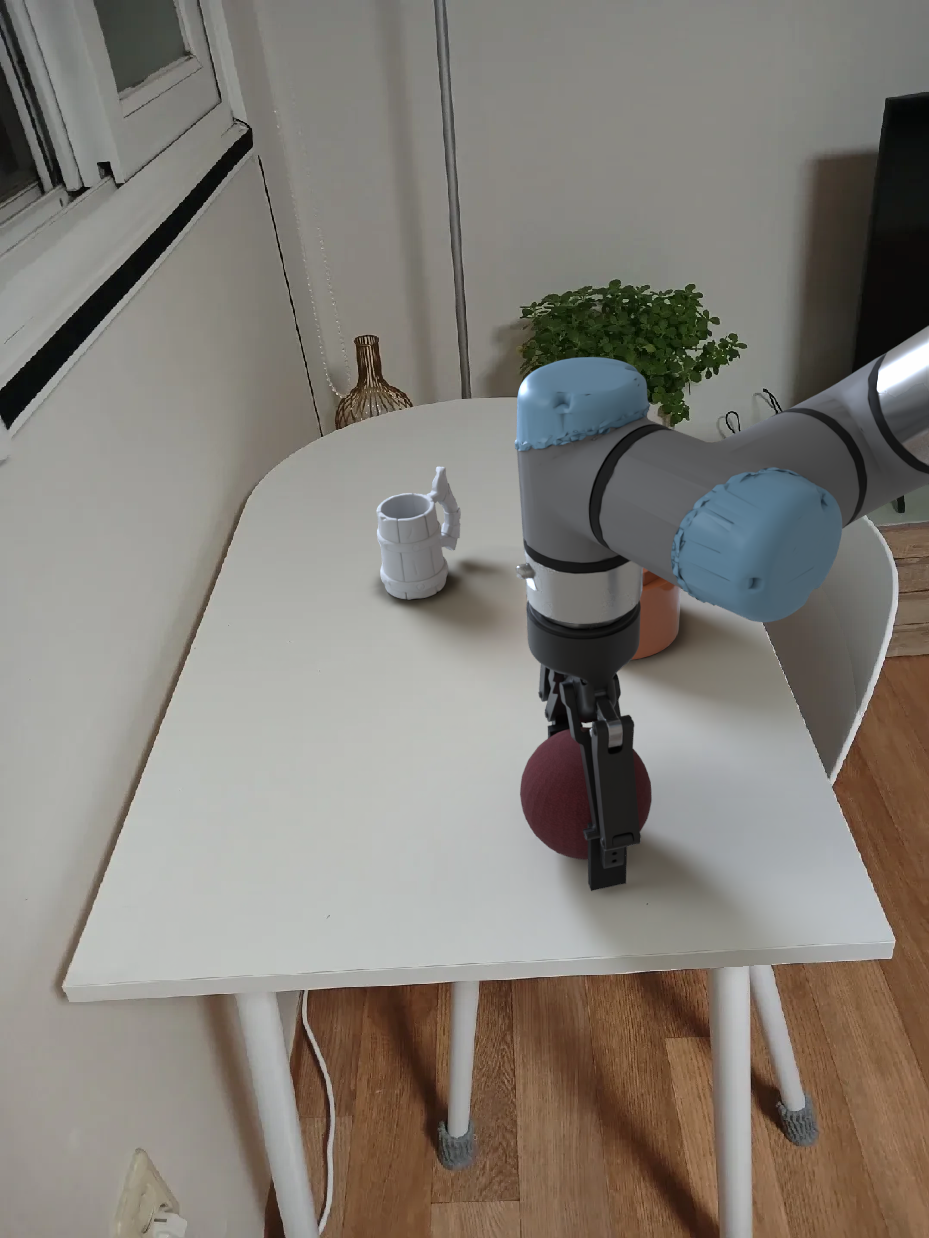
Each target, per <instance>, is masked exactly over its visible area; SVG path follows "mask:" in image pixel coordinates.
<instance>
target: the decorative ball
mask: <svg viewBox="0 0 929 1238" xmlns="http://www.w3.org/2000/svg"><path fill="white" fill-rule="evenodd" d="M584 728H589V727H588V726H586V727H585V726H583V727H581V729H584ZM633 757H634V769H635V780H636V792H637V804H638V816H639V828H640V832H642V830H643V828H644V826H645V824H646V822H647V820H648V818H649V814H650V811H651V805H652V801H653V799H652V786H651V785H652V781H651V779H650V775H649V773H648V772H649V771H648V770H647V767H646V765H645V763H644V760H642V758H641V756H640V755H639V754H638V752H637V751H636V750H635V749H634V748H633ZM519 796H520V804H521V808H522V813H523V816H524V818H525V820H526V822H527V824H528V826H529V828H530V829H531V831H532V832H533V834H534V835H535V837H537V839H539V840H540V841H541V842H542V843H543V844H544V845H545V846H546V847H547V848H549V849H550V850H552V851H554V852H555V853H557V854H559V855H561V856H564V857H567V858H570V859H571V858H572V859H576V860H585V861H586V860H587V861H588V840H586V839H585V837H584V833H583V829H586V828H588V825H587V823H590V822H592V818H591V812H590V806H589V800H588V793H587V787H586V781H585V775H584V769H583V762H582V756H581V750H580V744H579V743H577V742H576V741H575V740H574V739H573V738H572V737H571V733H570V729H567V730H564V731H561V732H559V733H556V734H555V735H553V736H551V737H550V738H548V737H547V738H546V739H545V740H544V741H543V742H542V743H540V744H539V745H538V746H537V747H536V749H535V750H534V752H533V753H532V754H531V755H530V756H529V758H528V760H527V762H526V765H525V767H524V769H523V772H522V775H521V780H520V790H519Z"/></svg>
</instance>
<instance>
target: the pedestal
mask: <svg viewBox="0 0 929 1238" xmlns="http://www.w3.org/2000/svg"><path fill="white" fill-rule="evenodd" d="M681 594H682V589H681V588H679V587H677V586H676V585H674V584H672V583H670V582H668V581H667V580H665V579H663V578H661V577H659V576H657V575H656V574H654V573H652V572H650V571H648V570H647V569H645V568H643V582H642V593H641V597H640V604H641V614H640V643H639V647H638V650H637V652H636V654H635V655H634V657H633V658H632V659H631V660H630V661H632V660H639V659H644V658H648V657H650V656H653V655H656V654H658V653H660V652H662V651H664V650H665V649H666V648H668V647H669V646H670V645H671V644H672V643H673V642H674V641H675V640H676V638H677V636H678V634H679V629H680V613H681V598H682V597H681V596H682V595H681Z"/></svg>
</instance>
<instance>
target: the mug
mask: <svg viewBox="0 0 929 1238" xmlns="http://www.w3.org/2000/svg"><path fill="white" fill-rule="evenodd" d="M435 473H436V475H435V476H434V478H433V479H432V483H431V490H430V492H429V493H426V494H424V493H414V492H406V493H399V494H395V495H391V496H390V497H387V498H385V499H384V500H383V501H382V502H380V503H379V505H378V506H377V508H376V517H377V525H378V528H377V530H376V538H377V542H378V544H379V545H380V553H381V563H382V564H381V565H380V571H379V572H380V579H381V581H382V583H383V585H384V587H385V590H386V592H387V593H388V594H389V595H391V596H392V597H394V598H398V599H401V600H415V599H424V598H425V599H426V598H429V597H431V596H434V595H436V594H437V592H440V591H441V590H442V589H444V587H445V585H446V581H447V576H448V575H449V565H448V561H447V559H446V557H445V556H444V553H443V548H445V549H447V550H449V551H456V547H457V543H458V539H460V538H461V520H460V519H461V513H462V512H461V508H460V507H459V505H458V503H457V500H456V498H455V496H454V494H453V492H452V489H451V488H452V487H451V486H450V483H449V482H448V477H447V469H446V467H445V466H441V465H438V466H436V467H435ZM436 503H438V504H439V505H440V506H441V507H442V508H443V519H444V522H442V526H441V522H440V521H439V520H438V515H437V508H436Z"/></svg>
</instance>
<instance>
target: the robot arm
mask: <svg viewBox="0 0 929 1238" xmlns="http://www.w3.org/2000/svg"><path fill="white" fill-rule="evenodd" d="M517 392H518V393H517V397H516V400H517V401H516V404H517V405H516V439H515V440H514V449H515V450H516V455H517V456H516V457H517V470H518V471H517V472H518V485H519V500H520V515H521V517H520V518H521V533H522V541H523V542H522V543H523V555H524V557H525V563H521V564H518V565H517V566H516V568H515V570H516V577H517V579H520V580H525V596H526V598H527V601H526V607H525V611H526V628H527V629H526V631H527V645H528V649H529V651H530V653H531V655H532V656H533V658H534V659H535V660H536V661H537V662H538V663H539V664H540V670H539V672H540V673H539V681H538V682H539V684H538V685H539V686H538V697H539V699H540V701H541V702H542V703H543V702H544V703H545V702H546V704H545V707H544V717H545V719H546V720H547V722H548V723H551V724H550V725H547V739H548V738H550V737H551V736H553V735H555V734H556V733H559V732H561V731H564V730H567V729H570V733H571V737H572V738H573V739H574V740H575V741H576V742H577V743H579V744H580V750H581V756H582V762H583V769H584V775H585V781H586V787H587V793H588V800H589V806H590V812H591V818H592V822H590V823H587V825H588V828H586V829H583V833H584V837H585V839H586V840H588V860H587V885H588V886H589V889H590V891H591V892H594V891H598V890H602V889H603V890H604V889H607V888H611V887H616V886H620V885H625V884H627V866H628V865H627V862H628V861H627V860H628V847H633V846H636V845H640V844H641V843H642V841H641V838H642V835H641V831H640V828H639V816H638V804H637V792H636V780H635V769H634V757H633V749H634V734H635V722H634V719H633V717H632V716H631V715H630V714H626V715H625V714H624V715H622V713H621V707H620V701H619V700H620V698H621V695H622V691H621V683H620V679H619V676H618V672H619V671H620V670H622V668H624V666H625V665H627V664H628V663H629V662H630V661H632V660H631V659H632V658H633V657H634V655H635V654H636V652H637V650H638V647H639V643H640V614H641V604H640V597H641V593H642V582H643V568H645V569H647V570H648V571H650V572H652V573H654V574H656V575H657V576H659V577H661V578H663V579H665V580H667V581H668V582H670V583H672V584H674V585H676V586H677V587H679V588H681V590H683V592H686V593H687V594H688V595H689V596H690V597H692V598H694V599H696V600H697V601H700V602H701V603H704V604H706V603H708V604H710V605H712V606H717V607H720V608H722V609H724V610H725V611H726V610H727V611H728V612H730V613H733V614H734V615H736V616H740V617H742V618H744V619H746V620H748V621H751V622H756V623H771V622H777V621H780V620H783V619H785V618H788V617H789V616H791V615H793V614H794V613H796V612H797V611H798V610H800V609H801V608H802V607H803V606H805V605H806V603H807V601H808V599H809V597H810V595H811V593H812V592H813V591H814V590H816V589H817V590H818V589H819V588H821V586H822V584H823V583H824V582H825V580H826V579H827V577H828V575H829V573H830V571H831V569H832V567H833V565H834V562H835V561H836V559H837V555H838V552H839V548H840V545H841V541H842V535H843V529H845V528H846V527H847V526H849V525H850V524H852V523H853V522H855V521H858V520H859V519H861V518H863V517H865V516H867V515H869V514H870V513H873V512H874V511H876V510H878V509H879V508H882V507H883V506H886V505H887V504H889V503H891V502H893V501H895V500H896V499H898V498H901V497H903V496H905V495H907V494H909V493H912V492H914V491H917V490H918V489H921V488H923V487H925V486H927V485H929V325H927V326H926V327H924V328H923V329H921V330H920V331H918V332H916V333H915V334H914V335H912V336H910V337H908V338H907V339H906V340H904V341H903V342H901V343H900V344H898V345H897V346H895V347H893V348H891V349H889V350H888V351H887V352H885V353H884V354H882V355H880V356H878V357H876V358H874V359H873V360H871V361H870V362H868V363H867V364H865V365H863V366H862V367H860V368H859V369H857V370H856V371H854V372H853V373H851V374H849V375H847V376H846V377H845V378H843V379H841V380H840V381H839V382H837V383H835V384H833V385H832V386H830V387H827V388H826V389H824V390H823V391H821V392H819V393H817V394H815V395H813V396H811V397H809V398H807V399H806V400H803V401H802V402H801V401H800V403H798V404H796V405H793V406H792V407H790V408H788V409H784V410H782V411H780V412H777V413H775V414H773V415H771V416H769V417H768V418H765V419H763V420H761V421H759V422H756V423H755V424H752V425H750V426H749V427H746V428H744V429H742V430H740V431H737V432H735V433H733V434H731V435H728V436H727V437H725V438H723V439H720V440H718V441H711V442H709V441H704V440H702V439H700V438H696V437H694V436H691V435H689V434H686V433H683V432H681V431H678V430H675V429H673V428H670V427H667V426H666V425H663V424H661V423H659V422H656V421H654V420H653V421H652V420H651V419H649V418H648V413H649V411H650V407H651V403H650V402H649V400H648V399H649V398H648V384H647V380H646V378H645V377H644V375H642V374H641V373H640V372H639V371H638V369H637V368H636V367H635V366H633V365H632V364H630V363H627V362H625V361H622V360H618V359H613V358H608V357H599V356H598V357H596V356H588V357H587V356H586V357H585V356H584V357H583V356H582V357H571V358H565V359H561V360H557V361H553V362H551V363H548V364H545V365H543V366H540V367H539V368H536V369H535V370H533V371H531V373H529V374H528V375H526V377H525V378H524V379H523V381H522V382H521V384H520V386H519V389H518V391H517ZM584 724H591V726H590V727H589V728H584V729H581V727H584Z"/></svg>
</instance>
